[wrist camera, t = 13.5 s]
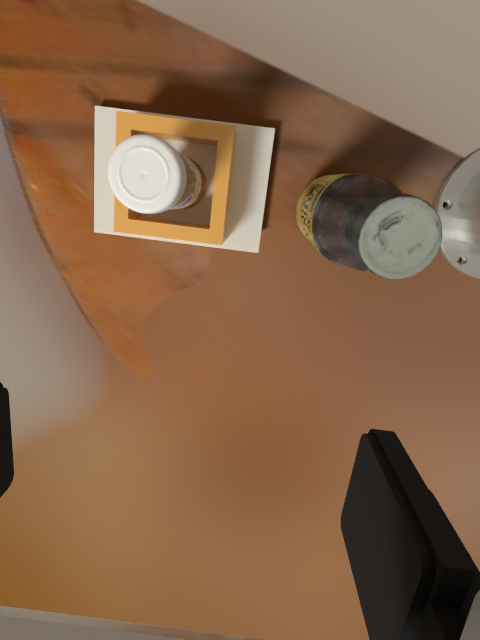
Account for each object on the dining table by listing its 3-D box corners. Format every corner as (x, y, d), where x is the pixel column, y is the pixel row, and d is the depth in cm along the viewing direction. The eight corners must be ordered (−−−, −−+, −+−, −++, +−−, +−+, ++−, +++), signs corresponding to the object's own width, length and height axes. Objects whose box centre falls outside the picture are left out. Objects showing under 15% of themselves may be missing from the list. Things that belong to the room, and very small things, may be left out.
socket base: (274, 130, 35) (277, 119, 31) (258, 251, 39) (258, 259, 34) (99, 107, 35) (74, 94, 31) (98, 231, 39) (75, 236, 34)
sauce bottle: (292, 179, 37) (330, 161, 18) (359, 172, 36) (474, 146, 17) (295, 249, 38) (334, 301, 20) (360, 243, 38) (463, 290, 19)
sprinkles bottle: (186, 218, 37) (150, 230, 24) (148, 185, 36) (90, 179, 23) (217, 179, 36) (197, 169, 23) (178, 144, 35) (134, 114, 22)
